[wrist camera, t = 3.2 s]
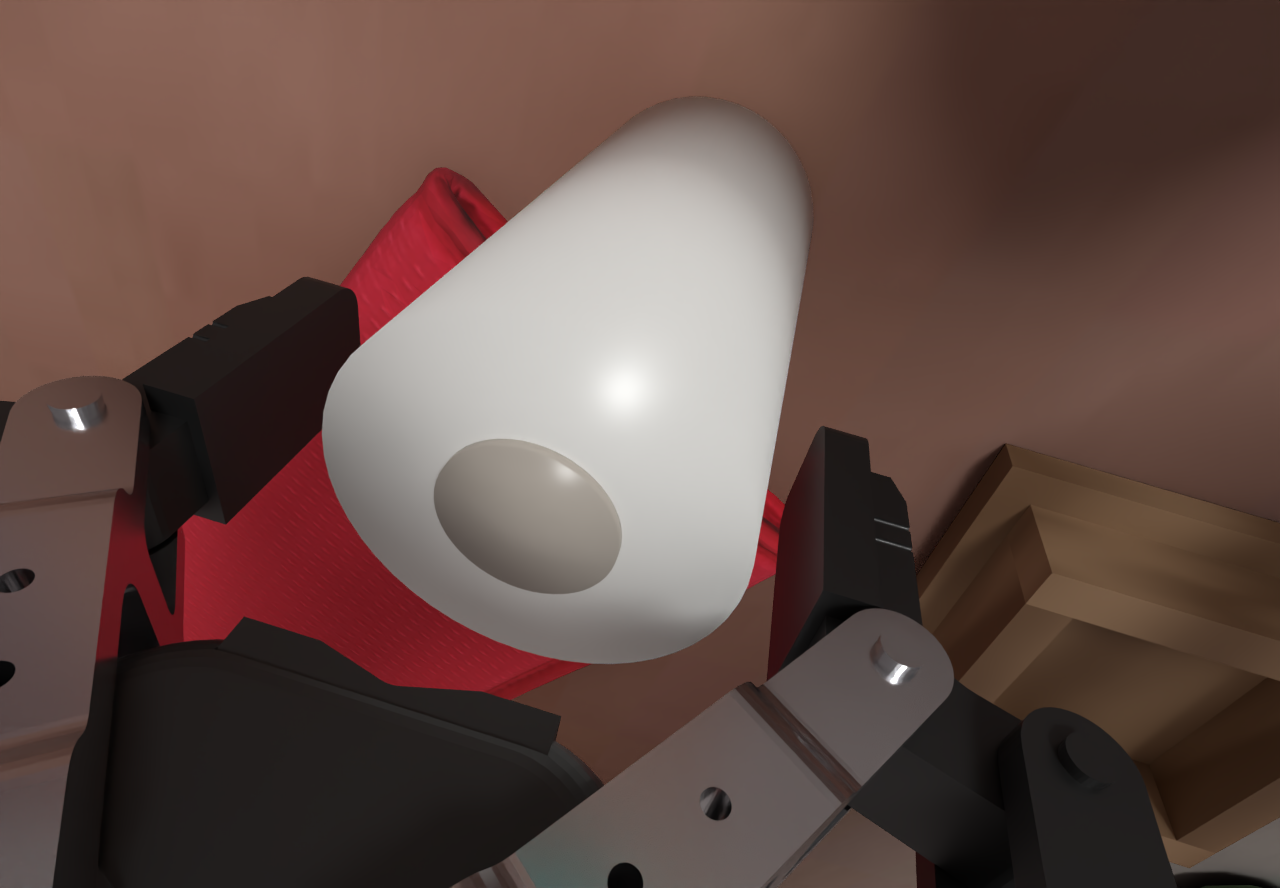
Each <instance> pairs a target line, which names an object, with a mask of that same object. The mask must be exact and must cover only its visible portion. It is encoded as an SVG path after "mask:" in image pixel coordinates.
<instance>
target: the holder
mask: <svg viewBox="0 0 1280 888" xmlns="http://www.w3.org/2000/svg"><path fill="white" fill-rule="evenodd" d="M916 579H917V587H918V594H919V602H920V609H921V617H922V624H923V627H924V628H925V629H927V630H928V631H929V632H930V633H931V634H932V635H933V636H934V637H935V638H936V639H937V640H938V642H939V643H940V644H941V645H942V647H943V648H944V650H945V651H946V653H947V655H948V657H949V659H950V661H951V664H952V668H953V673H954V678H955V679H956V680H957V681H959V682H960V683H961V684H962V685H964V686H965V687H966V688H968V689H969V690H971V691H973V692H974V693H976V694H977V695H979V696H981V697H982V698H984V699H986V700H987V701H989V702H991V703H993V704H994V705H996V706H998V707H999V708H1001V709H1003V710H1004V711H1006V712H1008V713H1010V714H1011V715H1013V716H1015V717H1016V718H1018V719H1020V720H1023V719H1024V718H1025V717H1026V716H1027V715H1028V714H1029V713H1031V712H1032V711H1034V710H1036V709H1039V708H1044V707H1054V708H1061V709H1064V710H1068V711H1071V712H1074V713H1076V714H1078V715H1081V716H1082V717H1084V718H1086V719H1088V720H1090V721H1091V722H1093V723H1094V724H1096V725H1097V726H1099V727H1100V728H1102V729H1103V730H1104V731H1105V732H1106V733H1108V734H1109V735H1110V736H1111V737H1112V738H1113V739H1114V740H1115V741H1116V742H1117V743H1118V744H1119V745H1120V746H1121V747H1122V748H1123V749H1124V750H1125V751H1126V753H1127V754H1128V755H1129V756H1130V758H1131V759H1132V761H1133V762H1134V764H1135V765H1136V767H1137V768H1138V770H1139V772H1140V774H1141V776H1142V778H1143V781H1144V783H1145V786H1146V789H1147V792H1148V795H1149V798H1150V802H1151V805H1152V808H1153V811H1154V815H1155V818H1156V821H1157V824H1158V827H1159V831H1160V834H1161V837H1162V840H1163V844H1164V847H1165V850H1166V853H1167V856H1168V860H1169V862H1172V863H1175V864H1178V865H1181V866H1184V867H1187V868H1191V867H1192V866H1194V865H1196V864H1198V863H1199V862H1201V861H1203V860H1205V859H1206V858H1208V857H1210V856H1212V855H1214V854H1215V853H1217V852H1219V851H1221V850H1222V849H1224V848H1226V847H1228V846H1230V845H1231V844H1233V843H1235V842H1237V841H1238V840H1240V839H1242V838H1244V837H1246V836H1247V835H1249V834H1251V833H1253V832H1254V831H1256V830H1258V829H1260V828H1261V827H1263V826H1265V825H1267V824H1269V823H1270V822H1272V821H1274V820H1276V819H1277V818H1279V817H1280V523H1278V522H1274V521H1271V520H1267V519H1264V518H1261V517H1257V516H1254V515H1250V514H1247V513H1243V512H1240V511H1236V510H1233V509H1230V508H1226V507H1223V506H1219V505H1216V504H1212V503H1209V502H1205V501H1202V500H1199V499H1195V498H1192V497H1188V496H1185V495H1181V494H1178V493H1174V492H1171V491H1168V490H1164V489H1161V488H1157V487H1154V486H1150V485H1147V484H1143V483H1140V482H1137V481H1133V480H1130V479H1126V478H1123V477H1119V476H1116V475H1112V474H1109V473H1106V472H1102V471H1099V470H1095V469H1092V468H1088V467H1085V466H1081V465H1078V464H1075V463H1071V462H1068V461H1064V460H1061V459H1057V458H1054V457H1050V456H1047V455H1044V454H1040V453H1037V452H1033V451H1030V450H1026V449H1023V448H1019V447H1016V446H1013V445H1009V444H1005V445H1004V447H1003V448H1002V450H1001V451H1000V453H999V454H998V456H997V457H996V459H995V460H994V462H993V463H992V465H991V466H990V468H989V469H988V471H987V472H986V474H985V475H984V476H983V478H982V479H981V481H980V482H979V484H978V485H977V487H976V488H975V490H974V491H973V493H972V494H971V496H970V497H969V499H968V500H967V502H966V503H965V505H964V506H963V508H962V509H961V511H960V512H959V513H958V515H957V516H956V518H955V519H954V521H953V522H952V524H951V525H950V527H949V528H948V530H947V531H946V533H945V534H944V536H943V537H942V539H941V540H940V542H939V543H938V545H937V546H936V548H935V549H934V550H933V552H932V553H931V555H930V556H929V558H928V559H927V561H926V562H925V564H924V565H923V567H922V568H921V570H920V571H919V573H918V574H917V576H916Z"/></svg>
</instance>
